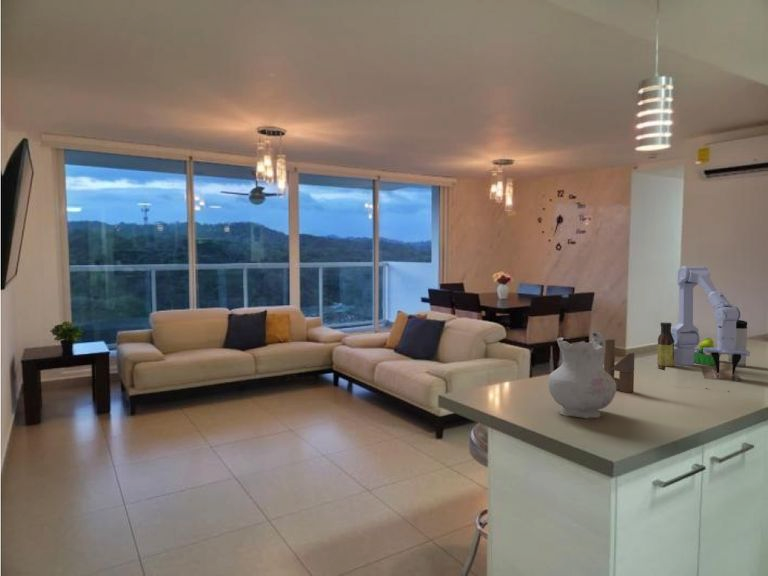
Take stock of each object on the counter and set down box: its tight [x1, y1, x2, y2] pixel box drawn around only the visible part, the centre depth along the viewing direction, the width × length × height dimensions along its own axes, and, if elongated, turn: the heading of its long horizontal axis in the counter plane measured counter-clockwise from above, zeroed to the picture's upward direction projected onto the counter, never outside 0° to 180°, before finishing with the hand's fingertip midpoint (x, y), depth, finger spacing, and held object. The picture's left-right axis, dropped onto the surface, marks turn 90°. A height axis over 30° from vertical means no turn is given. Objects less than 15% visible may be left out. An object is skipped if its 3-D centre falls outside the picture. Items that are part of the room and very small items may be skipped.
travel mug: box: [727, 319, 748, 368], centre depth 218 cm, size 6×7×20 cm
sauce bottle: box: [657, 321, 675, 370], centre depth 213 cm, size 6×6×20 cm
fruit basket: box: [694, 337, 722, 366], centre depth 223 cm, size 11×9×11 cm
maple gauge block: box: [717, 359, 733, 380], centre depth 191 cm, size 5×5×6 cm
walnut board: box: [700, 366, 743, 383], centre depth 197 cm, size 12×22×2 cm, turn 150°
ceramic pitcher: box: [547, 330, 617, 420], centre depth 155 cm, size 22×20×25 cm
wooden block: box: [603, 337, 635, 394], centre depth 181 cm, size 4×11×18 cm, turn 31°
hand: (725, 373), depth 191 cm, fingers closed on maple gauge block, 4 cm apart
